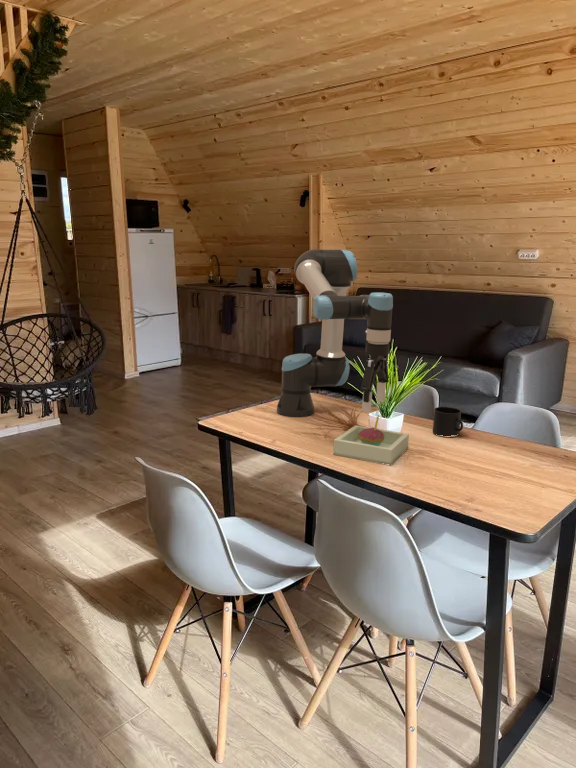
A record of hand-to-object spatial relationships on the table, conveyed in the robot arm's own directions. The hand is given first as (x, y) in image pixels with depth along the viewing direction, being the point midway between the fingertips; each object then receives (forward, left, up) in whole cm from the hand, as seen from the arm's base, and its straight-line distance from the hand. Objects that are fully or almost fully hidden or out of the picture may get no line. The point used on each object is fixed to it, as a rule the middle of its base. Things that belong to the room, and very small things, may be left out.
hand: (373, 406), depth 197 cm
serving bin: (0, 0, -15) cm, 15 cm away
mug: (-32, +18, -16) cm, 40 cm away
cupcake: (+1, 0, -15) cm, 15 cm away
